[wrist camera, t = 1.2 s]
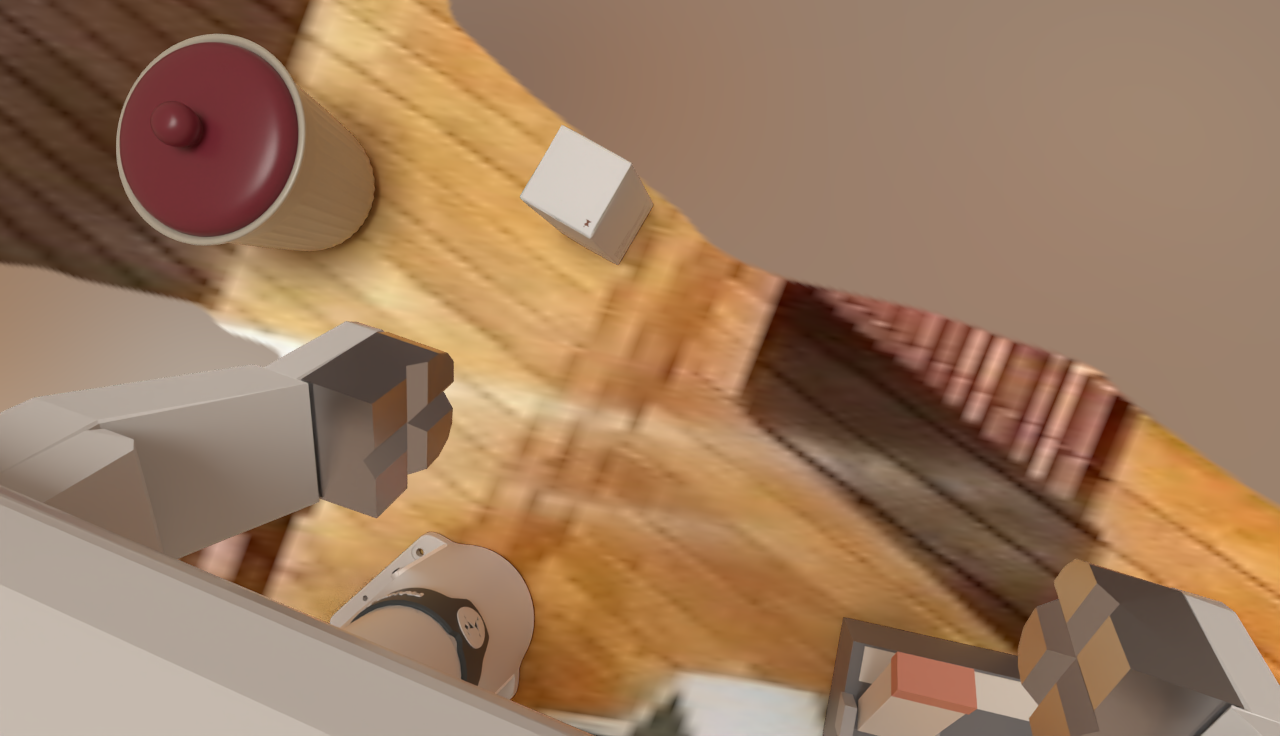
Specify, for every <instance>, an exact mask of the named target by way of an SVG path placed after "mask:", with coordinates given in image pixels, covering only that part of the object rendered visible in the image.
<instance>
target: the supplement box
mask: <svg viewBox="0 0 1280 736" xmlns="http://www.w3.org/2000/svg"><path fill="white" fill-rule="evenodd" d="M520 198H521V199H522V200H523V201H524V202H525V203H526V204H527V205H528V206H529V207H531V208H532V209H533V210H534V211H536V212H537V213H538V214H539V215H541V216H542V217H543V218H544V219H546V220H547V221H548V222H549V223H551V224H552V225H553V226H554V227H555V228H556V229H558V230H559V231H560V232H561V233H563V234H564V235H566V236H568V237H569V238H571V239H572V240H574V241H576V242H577V243H579V244H581V245H582V246H584V247H586V248H587V249H589V250H591V251H593V252H594V253H596V254H598V255H600V256H602V257H603V258H605V259H607V260H609V261H611V262H612V263H614V264H616V265H618V264H619V263H620V261H621V259H622V258H623V256H624V255H625V253H626V251H627V249H628V248H629V246H630V244H631V243H632V241H633V239H634V237H635V236H636V234H637V232H638V231H639V229H640V227H641V225H642V224H643V222H644V220H645V219H646V217H647V215H648V214H649V212H650V210H651V208H652V207H653V202H652V201H651V199H650V197H649V195H648V193H647V191H646V189H645V188H644V186H643V184H642V182H641V180H640V178H639V177H638V175H637V173H636V171H635V169H634V167H633V166H632V163H630V162H629V161H627V160H625V159H624V158H622V157H620V156H619V155H617V154H615V153H613V152H611V151H609V150H608V149H606V148H604V147H602V146H600V145H599V144H597V143H595V142H593V141H591V140H589V139H588V138H586V137H584V136H582V135H580V134H578V133H577V132H575V131H573V130H571V129H569V128H567V127H565V126H563V125H562V126H561V127H560V129H559V131H558V132H557V134H556V136H555V138H554V139H553V141H552V143H551V145H550V147H549V148H548V150H547V152H546V154H545V155H544V157H543V159H542V160H541V162H540V164H539V165H538V167H537V169H536V170H535V172H534V174H533V175H532V177H531V179H530V180H529V182H528V184H527V185H526V187H525V189H524V190H523V192H522V193H521V195H520Z"/></svg>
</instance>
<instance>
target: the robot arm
mask: <svg viewBox="0 0 1280 736" xmlns="http://www.w3.org/2000/svg"><path fill="white" fill-rule="evenodd" d="M453 382H454V362H453V360H452V358H451V357H450V356H449V354H448V353H446V352H443V351H441V350H438V349H435V348H432V347H429V346H426V345H423V344H421V343H418V342H415V341H412V340H409V339H406V338H403V337H401V336H398V335H395V334H392V333H389V332H384V331H383V330H381V329H378V328H374V327H371V326H368V325H365V324H362V323H359V322H349V321H346V322H344V323H342V324H340V325H339V326H337V327H335V328H333V329H331V330H330V331H328V332H326V333H324V334H323V335H321V336H319V337H317V338H315V339H314V340H312V341H310V342H308V343H306V344H305V345H303V346H301V347H299V348H298V349H296V350H294V351H292V352H290V353H289V354H287V355H285V356H283V357H282V358H280V359H278V360H276V361H274V362H273V363H271V364H269V365H267V366H265V367H261V366H258V365H255V364H252V365H245V366H239V367H232V368H226V369H219V370H212V371H206V372H199V373H192V374H186V375H179V376H173V377H166V378H160V379H153V380H146V381H140V382H133V383H127V384H120V385H113V386H107V387H100V388H93V389H87V390H80V391H74V392H67V393H60V394H54V395H47V396H41V397H34V398H32V399H30V400H27V401H25V402H23V403H21V404H18V405H16V406H14V407H12V408H9V409H7V410H5V411H3V412H0V736H594V735H592V734H590V733H587V732H585V731H582V730H580V729H578V728H575V727H573V726H571V725H568V724H566V723H563V722H561V721H559V720H556V719H554V718H552V717H549V716H547V715H544V714H542V713H540V712H537V711H535V710H533V709H530V708H528V707H526V706H523V705H521V704H518V703H516V702H514V701H511V700H510V699H511V698H512V697H513V696H514V695H515V694H516V692H517V689H518V683H519V667H520V664H521V661H522V659H523V657H524V655H525V653H526V651H527V649H528V647H529V644H530V641H531V638H532V634H533V628H534V610H533V604H532V600H531V596H530V593H529V590H528V588H527V586H526V584H525V582H524V580H523V579H522V577H521V576H520V574H519V573H518V571H517V570H516V569H515V568H514V567H513V566H512V565H511V564H510V563H509V562H508V561H507V560H506V559H504V558H503V557H502V556H500V555H498V554H497V553H495V552H493V551H491V550H488V549H486V548H483V547H479V546H474V545H465V544H458V543H454V542H452V541H451V540H449V539H447V538H445V537H444V536H442V535H440V534H438V533H435V532H427V533H425V534H424V535H422V536H421V537H420V538H419V539H418V540H416V541H415V542H414V543H413V544H412V545H411V546H410V547H409V548H407V549H406V550H405V551H404V552H403V553H402V554H401V555H400V556H398V557H397V558H396V559H395V560H394V561H393V562H392V563H391V564H390V565H388V566H387V567H386V568H385V569H384V570H383V571H382V572H381V573H379V574H378V575H377V576H376V577H375V578H374V579H373V580H372V581H370V582H369V583H368V584H367V585H366V586H365V587H364V588H363V589H362V590H360V591H359V592H358V593H357V594H356V595H355V596H354V597H353V598H351V599H350V600H349V601H348V602H347V603H346V604H345V605H344V606H342V607H341V608H340V609H339V610H338V611H337V612H336V613H335V614H334V615H333V616H332V617H331V620H330V624H329V623H327V622H324V621H322V620H320V619H317V618H315V617H313V616H310V615H308V614H305V613H303V612H301V611H298V610H296V609H294V608H291V607H289V606H286V605H284V604H282V603H279V602H277V601H275V600H272V599H270V598H267V597H265V596H263V595H260V594H258V593H256V592H253V591H251V590H248V589H246V588H244V587H241V586H239V585H237V584H234V583H232V582H229V581H227V580H225V579H222V578H220V577H218V576H215V575H213V574H211V573H208V572H206V571H203V570H201V569H199V568H196V567H194V566H192V565H189V564H187V563H184V562H182V561H180V560H177V559H178V558H181V557H183V556H186V555H188V554H191V553H193V552H196V551H198V550H201V549H203V548H206V547H208V546H211V545H213V544H215V543H218V542H220V541H223V540H225V539H228V538H230V537H233V536H235V535H238V534H240V533H243V532H245V531H248V530H250V529H253V528H255V527H258V526H260V525H263V524H265V523H268V522H270V521H273V520H275V519H278V518H280V517H283V516H285V515H288V514H290V513H293V512H295V511H297V510H300V509H302V508H305V507H307V506H310V505H312V504H315V503H317V502H319V498H320V499H323V500H326V501H329V502H331V503H334V504H337V505H340V506H343V507H346V508H349V509H351V510H354V511H357V512H360V513H363V514H366V515H369V516H371V517H374V518H378V517H379V516H380V515H381V514H382V513H383V512H384V511H385V510H386V509H387V508H388V507H389V506H390V505H391V504H392V503H393V502H394V501H395V500H396V499H397V498H398V497H399V496H400V495H401V494H402V493H403V492H404V491H405V490H406V489H407V475H408V474H411V473H414V472H418V471H421V470H424V469H427V468H428V467H429V466H430V465H431V464H432V463H433V461H434V460H435V459H436V458H437V457H438V456H439V454H440V452H441V451H442V449H443V447H444V445H445V443H446V441H447V439H448V437H449V433H450V429H451V425H452V412H453V408H452V406H451V404H450V402H449V401H448V399H447V397H446V395H445V393H444V392H443V391H444V390H445V389H446V388H447V387H448V386H450V385H451V384H452V383H453ZM420 548H421V549H423V551H424V554H423V555H422V554H420V552H419V549H420ZM1054 584H1055V588H1056V591H1057V595H1058V599H1057V600H1055V601H1052V602H1049V603H1046V604H1044V605H1041V606H1038V607H1036V608H1035V610H1034V611H1033V613H1032V614H1031V616H1030V618H1029V619H1028V621H1027V622H1026V624H1025V626H1024V628H1023V632H1022V635H1021V639H1020V643H1019V647H1018V669H1019V674H1020V679H1021V685H1022V686H1023V687H1024V688H1025V690H1026V691H1027V692H1028V693H1029V694H1030V696H1031V697H1032V698H1033V699H1034V701H1035V702H1036V703H1037V704H1038V707H1037V708H1036V710H1035V711H1034V712H1033V714H1032V715H1031V716H1030V717H1029V722H1030V726H1031V731H1032V735H1033V736H1280V685H1279V684H1278V682H1277V680H1276V679H1275V677H1274V675H1273V674H1272V672H1271V670H1270V669H1269V667H1268V666H1267V664H1266V662H1265V661H1264V659H1263V657H1262V656H1261V654H1260V652H1259V651H1258V649H1257V647H1256V646H1255V644H1254V643H1253V641H1252V639H1251V638H1250V636H1249V634H1248V633H1247V631H1246V629H1245V628H1244V626H1243V625H1242V623H1241V621H1240V620H1239V618H1238V616H1237V615H1236V613H1235V612H1234V611H1233V610H1231V609H1230V608H1229V607H1227V606H1226V605H1225V604H1223V603H1222V602H1219V601H1216V600H1212V599H1209V598H1206V597H1202V596H1199V595H1195V594H1192V593H1189V592H1185V591H1182V590H1178V589H1175V588H1169V587H1165V586H1162V585H1159V584H1156V583H1152V582H1149V581H1146V580H1143V579H1140V578H1136V577H1133V576H1130V575H1127V574H1124V573H1120V572H1117V571H1114V570H1111V569H1108V568H1104V567H1101V566H1098V565H1095V564H1091V563H1088V562H1085V561H1082V560H1079V559H1075V560H1073V561H1072V562H1071V563H1069V564H1068V565H1066V566H1065V567H1064V568H1063V570H1062V571H1061V572H1060V574H1059V575H1058V576H1057V578H1056V579H1055V581H1054Z"/></svg>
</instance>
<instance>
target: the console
mask: <svg viewBox="0 0 1280 736" xmlns="http://www.w3.org/2000/svg"><path fill="white" fill-rule="evenodd" d="M896 652H902V653H906V654H911V655H915V656H919V657H924V658H928V659H932V660H937V661H941V662H945V663H950V664H954V665H959V666H963V667H967V668H972V669H974V673H975V685H976V698H977V709H976V710H975V711H973V712H972V713H970V714H969V715H968V714H965V715H963V716H962V717H961V718H959V719H958V720H956V721H955V722H954V723H952V724H951V725H949V726H948V727H947V728H945V729H944V730H942V731H941V732H940V733H938V734H937V735H935V736H1033V735H1032V731H1031V726H1030V722H1029V717H1030V716H1031V715H1032V714H1033V712H1034V711H1035V710H1036V708H1037V707H1038V704H1037V703H1036V702H1035V701H1034V699H1033V698H1032V697H1031V696H1030V694H1029V693H1028V692H1027V691H1026V690H1025V688H1024V687H1023V686H1022V685H1021V679H1020V674H1019V669H1018V656H1015V655H1011V654H1006V653H1002V652H997V651H993V650H988V649H984V648H979V647H975V646H970V645H966V644H962V643H957V642H953V641H948V640H944V639H939V638H935V637H930V636H926V635H921V634H917V633H912V632H908V631H904V630H899V629H895V628H890V627H886V626H881V625H877V624H872V623H868V622H863V621H859V620H854V619H850V618H846V617H843V623H842V628H841V634H840V640H839V645H838V651H837V657H836V662H835V668H834V674H833V679H832V685H831V691H830V696H829V702H828V708H827V713H826V719H825V725H824V730H823V736H877V735H873V734H869V733H865V732H861V731H857V729H854V725H855V719H856V713H857V708H858V700H859V698H860V697H861V696H862V695H863V694H864V693H865V691H866V690H867V689H868V688H869V687H870V686H871V685H872V683H873V682H874V681H875V680H876V679H877V678H878V676H879V675H880V674H881V673H882V672H883V671H884V670H885V668H886V667H887V666H888V665H889V664H890V663H891V658H892V657H893V656H894V655H895V653H896Z"/></svg>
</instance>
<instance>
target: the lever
mask: <svg viewBox="0 0 1280 736" xmlns="http://www.w3.org/2000/svg"><path fill="white" fill-rule="evenodd" d="M976 709H977V698H976V685H975V673H974V669H972V668H967V667H963V666H959V665H954V664H950V663H945V662H941V661H937V660H932V659H928V658H924V657H919V656H915V655H911V654H906V653H902V652H896V653H895V655H894V656H893V657H892V658H891V663H890V664H889V665H888V666H887V667H886V668H885V670H884V671H883V672H882V673H881V674H880V675H879V676H878V678H877V679H876V680H875V681H874V682H873V683H872V685H871V686H870V687H869V688H868V689H867V690H866V691H865V693H864V694H863V695H862V696H861V697H860V698H859V700H858V708H857V713H856V719H855V725H854V729H857V731H861V732H865V733H869V734H873V735H877V736H935V735H937V734H938V733H940V732H941V731H942V730H944V729H945V728H947V727H948V726H949V725H951V724H952V723H954V722H955V721H956V720H958V719H959V718H961V717H962V716H963V715H965V714H968V715H969V714H970V713H972V712H973V711H975V710H976Z"/></svg>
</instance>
